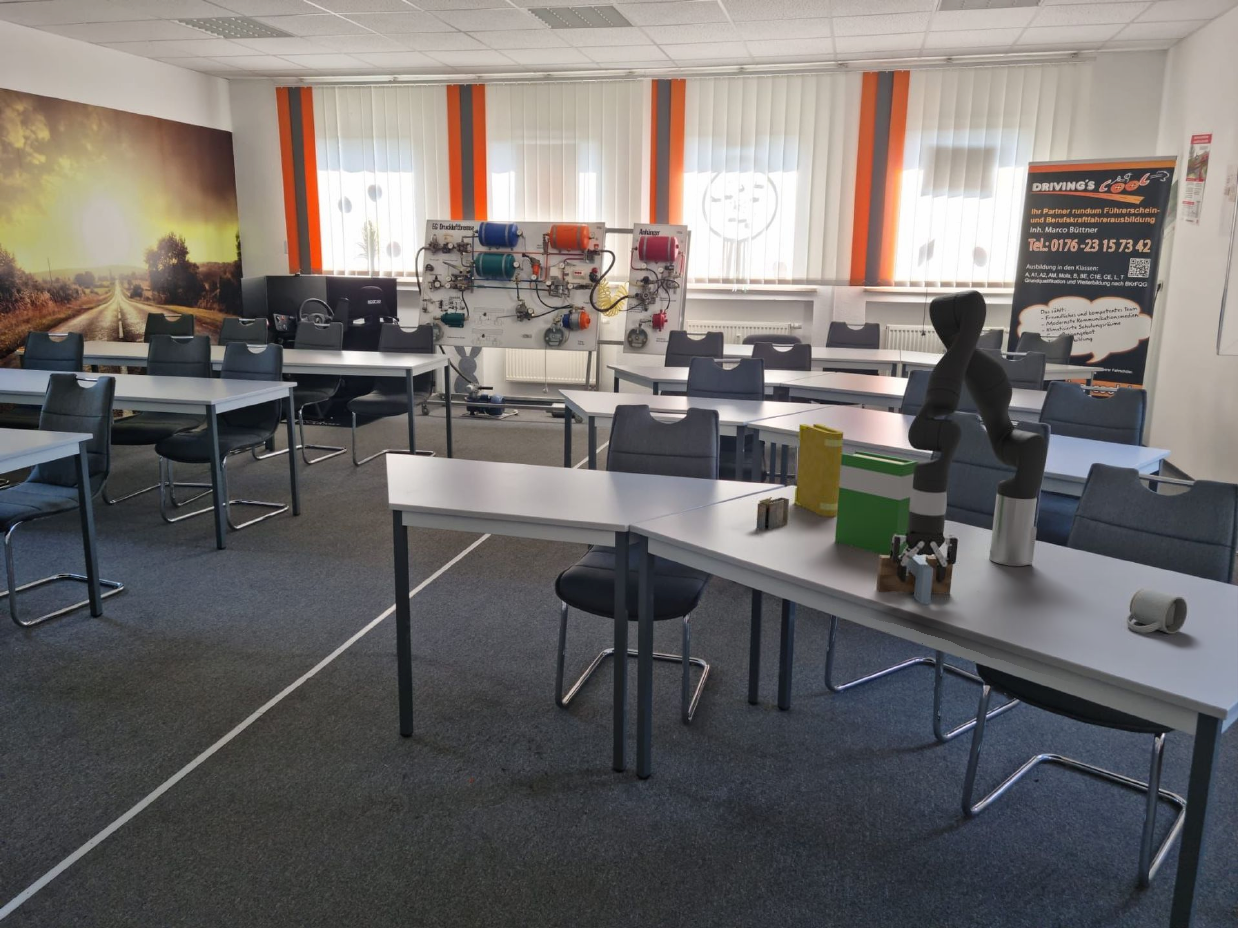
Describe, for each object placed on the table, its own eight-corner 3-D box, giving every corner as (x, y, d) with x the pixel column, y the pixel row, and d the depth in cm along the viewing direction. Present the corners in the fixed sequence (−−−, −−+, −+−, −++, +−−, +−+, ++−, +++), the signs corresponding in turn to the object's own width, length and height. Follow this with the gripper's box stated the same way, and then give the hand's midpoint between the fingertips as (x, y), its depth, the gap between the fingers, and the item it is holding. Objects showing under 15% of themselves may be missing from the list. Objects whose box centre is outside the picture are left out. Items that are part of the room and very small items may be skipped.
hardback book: (834, 541, 236) (841, 453, 231) (850, 536, 241) (857, 450, 236) (894, 557, 224) (902, 465, 219) (909, 551, 229) (917, 461, 224)
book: (794, 503, 277) (799, 424, 271) (813, 501, 279) (818, 423, 273) (822, 517, 261) (828, 433, 256) (842, 515, 263) (848, 433, 258)
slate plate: (900, 582, 205) (903, 549, 203) (909, 582, 205) (912, 549, 203) (920, 603, 191) (924, 568, 190) (929, 603, 191) (933, 568, 190)
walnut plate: (946, 590, 200) (950, 556, 199) (949, 593, 198) (953, 559, 197) (876, 588, 200) (879, 554, 199) (878, 591, 198) (881, 557, 197)
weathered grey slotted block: (765, 532, 245) (767, 498, 243) (756, 530, 247) (758, 496, 245) (788, 525, 253) (790, 492, 251) (780, 523, 255) (782, 490, 253)
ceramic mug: (1146, 616, 187) (1151, 582, 185) (1185, 630, 180) (1191, 594, 178) (1114, 625, 182) (1119, 590, 180) (1153, 639, 175) (1159, 603, 173)
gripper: (953, 505, 195) (946, 576, 198) (889, 504, 195) (883, 574, 198) (966, 514, 188) (959, 587, 191) (899, 513, 188) (893, 586, 191)
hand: (920, 581), depth 195 cm, fingers open, 7 cm apart
